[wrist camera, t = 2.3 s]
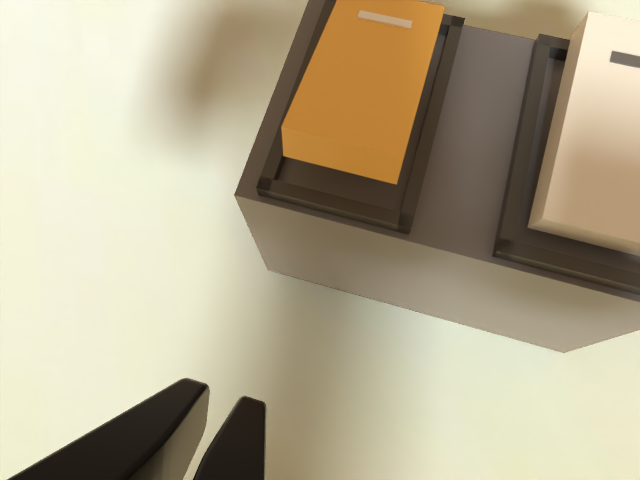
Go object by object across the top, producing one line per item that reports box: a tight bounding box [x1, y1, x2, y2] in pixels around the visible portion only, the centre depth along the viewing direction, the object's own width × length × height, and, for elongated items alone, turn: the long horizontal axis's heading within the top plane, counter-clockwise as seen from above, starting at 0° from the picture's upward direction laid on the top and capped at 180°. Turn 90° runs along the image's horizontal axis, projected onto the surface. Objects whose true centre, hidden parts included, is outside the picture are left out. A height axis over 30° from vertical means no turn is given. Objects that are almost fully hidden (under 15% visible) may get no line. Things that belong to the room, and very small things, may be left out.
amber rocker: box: [281, 0, 445, 185], centre depth 15 cm, size 6×3×1 cm, turn 163°
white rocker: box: [527, 11, 640, 256], centre depth 14 cm, size 6×3×1 cm, turn 164°
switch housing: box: [234, 0, 640, 353], centre depth 19 cm, size 8×13×8 cm, turn 74°
